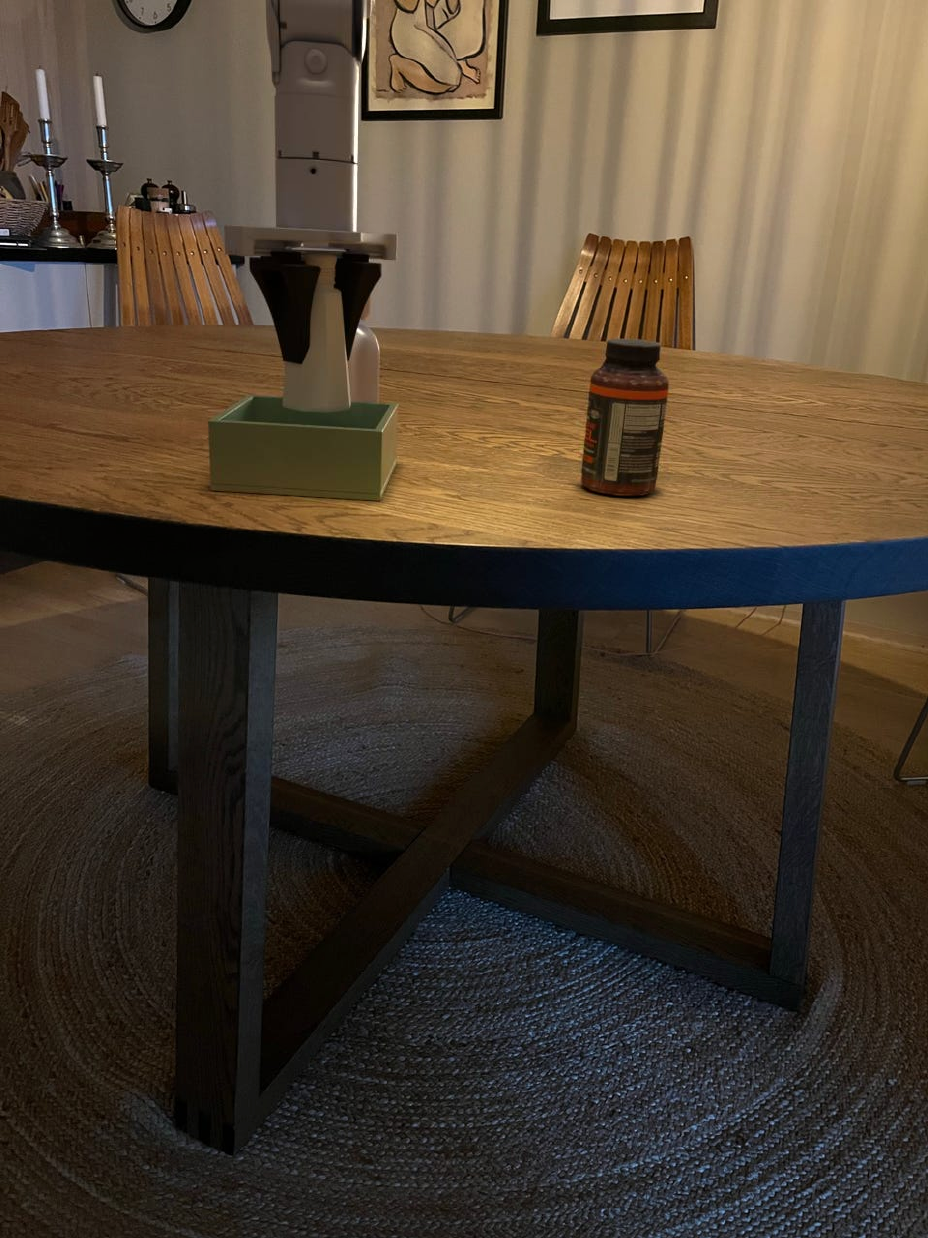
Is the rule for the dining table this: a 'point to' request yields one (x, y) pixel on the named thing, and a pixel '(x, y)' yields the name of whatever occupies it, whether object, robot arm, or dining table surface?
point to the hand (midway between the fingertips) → (316, 360)
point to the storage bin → (303, 449)
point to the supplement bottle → (625, 420)
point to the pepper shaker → (321, 350)
